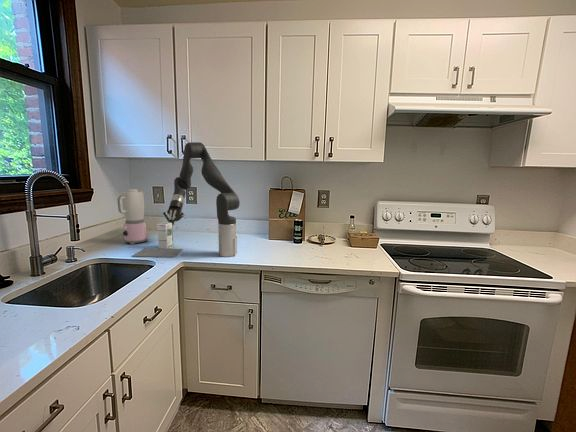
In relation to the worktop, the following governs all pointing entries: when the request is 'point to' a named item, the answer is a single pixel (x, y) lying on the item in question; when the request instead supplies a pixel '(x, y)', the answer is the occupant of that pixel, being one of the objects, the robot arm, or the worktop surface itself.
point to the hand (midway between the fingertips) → (170, 226)
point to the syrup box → (165, 235)
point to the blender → (133, 216)
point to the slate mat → (157, 252)
